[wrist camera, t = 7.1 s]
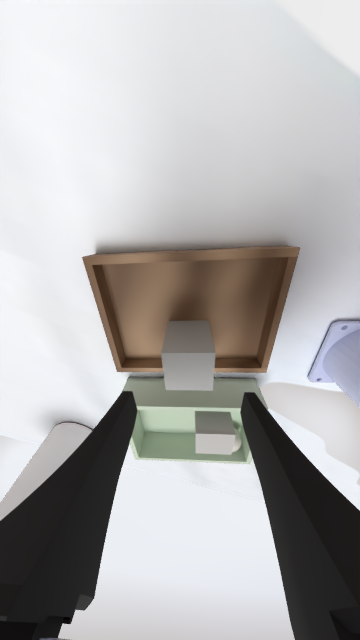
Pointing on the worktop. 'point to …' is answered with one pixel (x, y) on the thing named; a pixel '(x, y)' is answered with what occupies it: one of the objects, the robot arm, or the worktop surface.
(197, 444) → the grey rectangular block
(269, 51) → the worktop surface
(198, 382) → the stone
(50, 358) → the worktop surface
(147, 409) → the green bin
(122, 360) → the walnut tray
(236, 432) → the white ball
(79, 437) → the pill bottle
